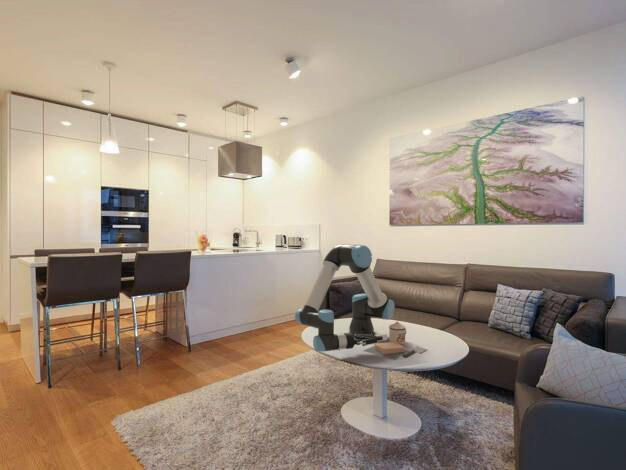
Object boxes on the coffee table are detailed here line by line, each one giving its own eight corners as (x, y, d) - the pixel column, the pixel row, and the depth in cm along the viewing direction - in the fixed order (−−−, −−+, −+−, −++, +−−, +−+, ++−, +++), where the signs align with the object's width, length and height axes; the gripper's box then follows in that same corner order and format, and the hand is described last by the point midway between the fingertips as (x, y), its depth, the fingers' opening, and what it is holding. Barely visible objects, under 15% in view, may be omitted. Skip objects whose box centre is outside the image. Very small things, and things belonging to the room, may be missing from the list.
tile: (383, 349, 173) (404, 347, 177) (374, 343, 182) (394, 341, 185) (383, 354, 173) (404, 352, 177) (374, 348, 182) (394, 346, 185)
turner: (410, 360, 168) (410, 356, 168) (398, 356, 172) (398, 353, 172) (427, 349, 183) (427, 346, 183) (416, 347, 187) (416, 343, 187)
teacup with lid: (398, 346, 188) (398, 325, 187) (385, 342, 195) (385, 321, 195) (412, 342, 195) (412, 321, 195) (399, 338, 202) (399, 318, 202)
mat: (363, 351, 179) (363, 350, 179) (379, 344, 191) (379, 343, 191) (394, 360, 167) (394, 359, 167) (409, 352, 179) (409, 351, 179)
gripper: (339, 344, 177) (380, 340, 185) (349, 353, 165) (393, 348, 172) (339, 329, 177) (380, 326, 185) (349, 337, 165) (393, 333, 172)
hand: (386, 336), depth 178 cm, fingers closed
